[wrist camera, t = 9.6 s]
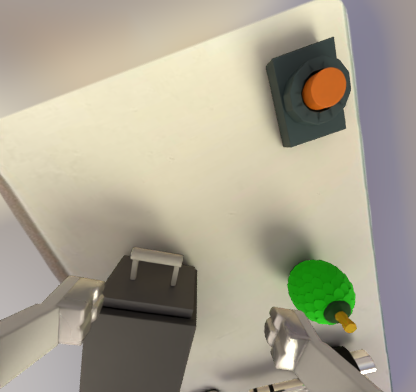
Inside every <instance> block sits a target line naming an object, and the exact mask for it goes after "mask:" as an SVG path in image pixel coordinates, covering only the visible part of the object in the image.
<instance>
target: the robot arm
mask: <svg viewBox="0 0 416 392" xmlns="http://www.w3.org/2000/svg"><path fill="white" fill-rule="evenodd" d="M105 283H106V282H105V281H100V280H95V279H89V278H84V277H76V276H69V277H67V278H66V279H65V280H64V281H63V282H62V283H61V284H60V285H59V286H58V287H57V288H56V289H55V290H54V291H53V292H52V293H51V294H50V295H49V296H48V297H47V298H46V299H45V300H44V301H43V302H42V303H41V304H35V305H33V306H31V307H28V308H26V309H24V310H22V311H20V312H18V313H15V314H14V315H11V316H9V317H7V318H4V319H2V320H0V389H1V388H2V387H4V386H5V385H6V384H7V383H9V382H10V381H11V380H12V379H14V378H15V377H17V376H18V375H19V374H21V373H22V372H23V371H24V370H26V369H27V368H28V367H30V366H31V365H32V364H34V363H35V362H36V361H38V360H39V359H40V358H41V357H43V356H44V355H45V354H47V353H48V352H49V351H51V350H52V349H53V348H55V347H56V346H57V345H58V344H69V345H81V344H82V343H83V341H84V339H85V338H86V336H87V334H88V333H89V331H90V327H91V323H92V322H93V321H95V320H96V319H97V317H98V315H99V313H100V311H101V308H102V306H103V302H104V295H103V294H102V293H103V291H104V289H105ZM269 313H270V316H271V317H270V318H268V319H267V320H266V323H265V330H264V332H265V337H266V340H267V343H268V344H269V345H270V346H271V347H272V349H271V355H272V358H273V361H274V364H275V366H276V368H279V369H285V370H292V371H294V373H295V374H296V375H297V377H298V378H299V379H300V381H301V382H302V383H303V384H304V386H305V387H306V388H307V390H308V391H309V392H383V391H382V390H381V389H379V388H378V387H377V386H376V385H375V384H374V383H372V382H371V381H370V380H369V379H368V378H367V377H365V376H364V375H363V374H362V373H361V372H359V371H358V370H357V369H356V368H355V367H354V366H352V365H351V364H350V363H349V362H348V361H346V360H345V359H344V358H343V357H342V356H341V355H339V354H338V353H337V352H336V351H335V350H333V349H332V348H331V347H330V346H329V345H328V344H326V343H324V342H322V341H321V339H320V338H319V336H318V334H317V333H316V331H315V330H314V328H313V326H312V325H311V323H310V322H309V320H308V318H307V317H306V315H305V314H304V312H302V311H301V310H293V309H292V310H291V309H285V308H278V307H272V308H271V310H270V312H269Z"/></svg>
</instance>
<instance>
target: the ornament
mask: <svg viewBox="0 0 416 392" xmlns="http://www.w3.org/2000/svg"><path fill="white" fill-rule="evenodd" d="M287 285H288V291H289V292H288V293H289V295H290V297H291V300H292V301H293V304H294V305H295V307H296V308H297V309H298V310H301V311H302V312H304V314H305V315H306V317H307V318H308V319H310V320H311V321H315V322H317V323H319V324H328V325H334V324H337V323H340V324H342V326H343V328H344V330H345V331H346V332H348V333H353V332H354V331H355V330H356V329H357V328H356V324H355V323H354V322H353V321H351V320H350V319H349V318H348V317H349V316H350V315H351V314H352V311H353V310H352V309H353V308H354V305H355V293H354V290H353V285H352V283H351V282H349V280H348V278H347V276H346V275H345V274H343V273H342V271H341V270H339V269H338V268H337V267H336V266H334V265H332V264H331V263H328V262H325V261H322V260H319V261H318V260H310V261H309V260H305V261H303V262H301V263H299V264H298V265H296V266H295V267H294V269H293V270H292V271H291V272H290V276H289V278H288V284H287Z"/></svg>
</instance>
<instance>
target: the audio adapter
mask: <svg viewBox="0 0 416 392" xmlns="http://www.w3.org/2000/svg"><path fill="white" fill-rule="evenodd" d="M333 350H335V351H336V352H337V353H338V354H339V355H341V356H342V357H343V358H344V359H345V360H346V361H348V362H349V363H350V364H351V365H352V366H354V367H355V368H356V369H357V370H358V371H359V372H361V373H362V374H363V375H364V376H365V377H367V376H366V375H365V374H370V373H374V372H376V367H375V364H374V362H373V360H372V359H371V357H370V356H369V354H368V353H367V352H366V351H365V350H363V349H361V350H356V351H352V352H349V351H348V350H347V349H346V348H345V347H343V346H341V347H337V348H333ZM367 378H368V377H367ZM368 379H369V378H368ZM249 392H309V391H308V390H307V388H306V387H305V386H304V384H303V383H302V382H301V381H300V379H299V378H296V379H292V380H287V381H283V382H279V383H274V384H271V385H266V386H262V387H257V388H254V389H250V390H249Z"/></svg>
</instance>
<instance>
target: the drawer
mask: <svg viewBox="0 0 416 392" xmlns="http://www.w3.org/2000/svg"><path fill="white" fill-rule="evenodd" d="M182 260H183V255H179V254H173V253H167V252H161V251H155V250H149V249H143V248H137V247H134V248H133V250H132V252H131V256H125V255H124V257H123V258H122V260H121V261H120V263H119V264H118V266H117V267H116V269H115V270H114V271H113V273H112V274H111V276H110V277H109V279H108V280H107V282H106V283H105V289H104V291H103V293H102V294H103V295H104V302H103V306H106V308H110V309H117V310H124V311H132V312H139V313H147V314H154V315H162V316H169V317H176V318H184V317H187V318H191V317H192V313H193V304H194V275H195V267H193V266H187V265H182Z"/></svg>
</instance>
